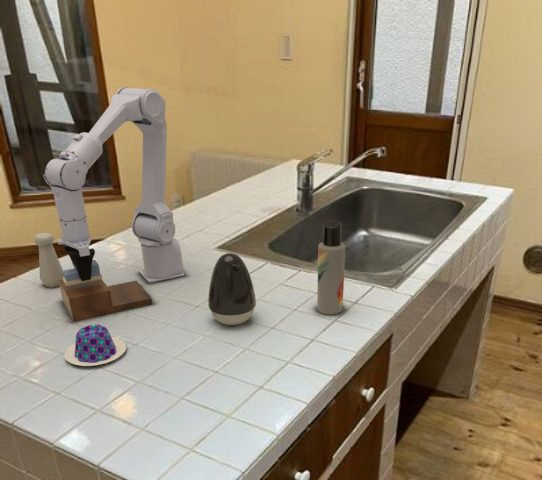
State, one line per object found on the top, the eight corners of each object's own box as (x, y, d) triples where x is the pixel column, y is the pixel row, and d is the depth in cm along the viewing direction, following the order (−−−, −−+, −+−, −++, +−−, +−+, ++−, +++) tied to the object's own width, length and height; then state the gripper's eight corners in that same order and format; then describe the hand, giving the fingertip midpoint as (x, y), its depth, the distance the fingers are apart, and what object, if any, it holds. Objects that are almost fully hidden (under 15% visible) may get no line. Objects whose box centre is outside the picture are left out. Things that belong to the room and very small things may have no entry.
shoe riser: (137, 286, 150) (134, 265, 147) (152, 304, 141) (149, 282, 138) (63, 301, 143) (58, 280, 140) (73, 321, 134) (68, 298, 131)
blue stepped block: (98, 274, 140) (96, 259, 138) (102, 279, 137) (99, 264, 135) (63, 281, 136) (60, 266, 135) (66, 286, 134) (62, 271, 132)
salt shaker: (58, 289, 149) (47, 238, 143) (37, 288, 150) (25, 237, 144) (69, 280, 154) (59, 230, 148) (49, 279, 155) (38, 229, 149)
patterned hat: (65, 344, 125) (60, 321, 122) (124, 335, 127) (120, 313, 125) (64, 373, 115) (59, 349, 112) (129, 363, 117) (125, 339, 115)
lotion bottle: (345, 305, 137) (348, 219, 127) (339, 316, 133) (342, 227, 123) (320, 302, 139) (322, 217, 129) (314, 313, 134) (315, 225, 124)
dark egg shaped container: (221, 335, 127) (216, 266, 119) (202, 316, 135) (197, 250, 127) (265, 324, 130) (262, 257, 123) (244, 306, 138) (241, 242, 131)
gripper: (47, 211, 134) (59, 269, 141) (59, 229, 122) (72, 291, 129) (79, 207, 136) (90, 264, 143) (94, 224, 125) (105, 285, 132)
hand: (84, 276), depth 137 cm, fingers closed on blue stepped block, 3 cm apart
